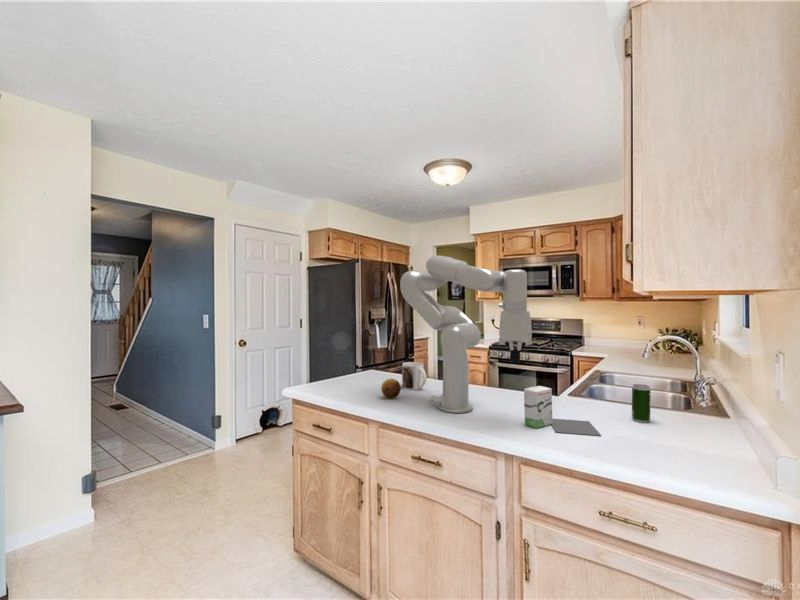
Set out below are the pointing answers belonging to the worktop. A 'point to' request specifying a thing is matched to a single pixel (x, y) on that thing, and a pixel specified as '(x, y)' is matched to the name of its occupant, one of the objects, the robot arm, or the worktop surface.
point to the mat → (574, 427)
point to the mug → (413, 376)
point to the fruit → (391, 388)
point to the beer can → (641, 403)
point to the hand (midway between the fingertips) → (515, 362)
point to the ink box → (538, 406)
